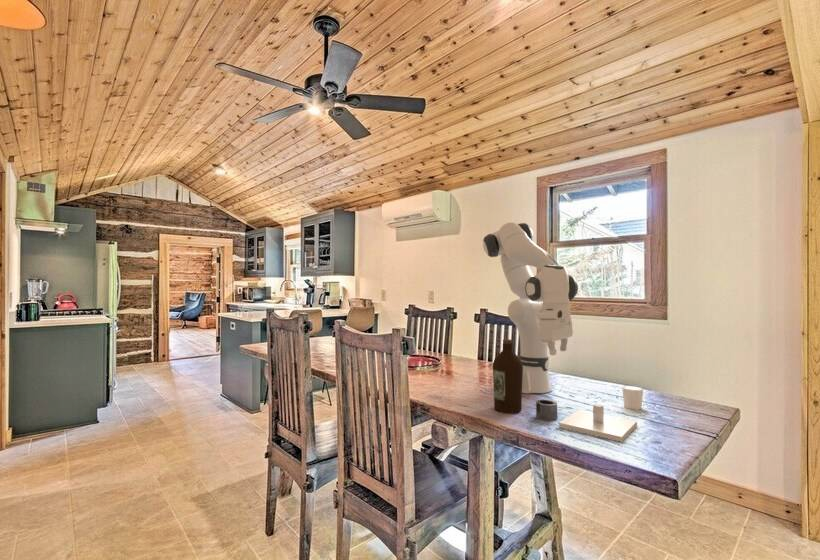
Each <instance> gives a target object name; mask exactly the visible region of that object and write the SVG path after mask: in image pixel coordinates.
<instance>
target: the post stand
mask: <svg viewBox="0 0 820 560" xmlns="http://www.w3.org/2000/svg"><path fill="white" fill-rule="evenodd" d="M604 410H605V409H604V405H601V404H593V405H592V411H588V410H583V409H577V411H574V412H573V413H571V414H570V415H568V416H567V417H566V418H564V419H563V420H561V421H560V422H558V427H561V428H560V429H563V428H565V430H568V429H569V430H568V431H572V430H574V431H573V432H576V431H579V432H578V433H580V432H583V433H582V434H585V433H588V434H587V435H589V434H592V435H591V436H593V435H597V436H596V437H598V436H601V437H600V438H602V437H605V438H604V439H606V438H609V439H608V440H610V439H612V440H611V441H615V440H616V442H619V441H620V442H619V443H623V442H624V440H625V439H626V438H627V437H628V436H629V435H630V434H631V433H632V432H633V431H634V430H635V428H637V426H638V420H634V419H629V418H624V417H619V416H614V415H610V414H605V412H604Z"/></svg>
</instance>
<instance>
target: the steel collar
mask: <svg viewBox="0 0 820 560" xmlns="http://www.w3.org/2000/svg"><path fill="white" fill-rule="evenodd" d="M535 416H536V418H537V419H539V420H542V421H549V420H552V421H555V420H557V419H558V403H557V401H555V400H552V399H537V400H536V401H535Z"/></svg>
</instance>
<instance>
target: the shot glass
mask: <svg viewBox="0 0 820 560" xmlns="http://www.w3.org/2000/svg"><path fill="white" fill-rule="evenodd" d="M621 388H622V398H623V399H622V400H623V401H622V402H623V407H624V408H625V409H626V408H627V409H631V410H641V409H642V407H643V398H644V397H643V395H644V388H642V387H640V386H634V385H624V386H623V385H622V386H621Z"/></svg>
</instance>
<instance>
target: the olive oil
mask: <svg viewBox="0 0 820 560" xmlns="http://www.w3.org/2000/svg"><path fill="white" fill-rule="evenodd" d="M502 342H503V343H502V351H500V353H499V354H498V355H497V356H496V357H495V358H494V359H493V363H492V381H493V382H492V383H493V385H492V386H493V402H494V403H493V406H494V408H493V409H494V410H495V411H497V412H499V413H502V414H503V413H504V414H519V413H520V412H522V401H523V400H522V398H523V397H522V395H523V393H522V378H523V365H522V362H521V360H520V358H519V357H518V356H519V355H517V354H516V353H515V351H513V340H512V339H510V338H509V339H506V338H505V339H502Z"/></svg>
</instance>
